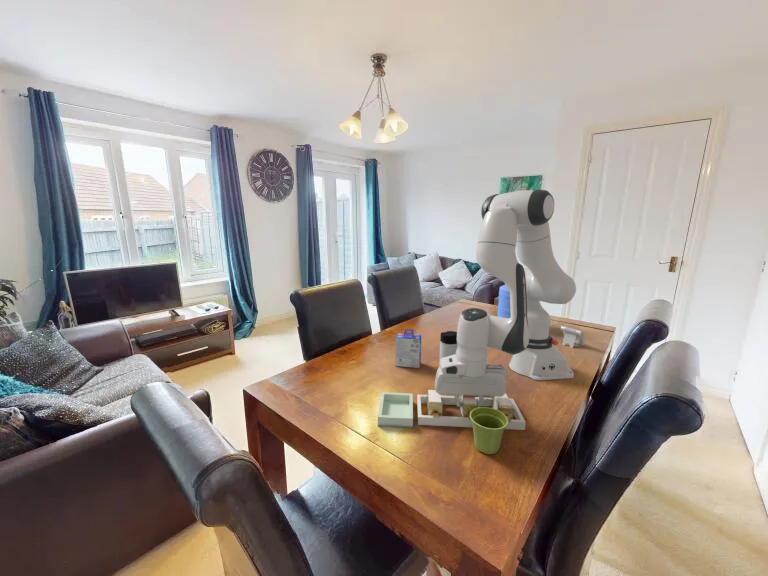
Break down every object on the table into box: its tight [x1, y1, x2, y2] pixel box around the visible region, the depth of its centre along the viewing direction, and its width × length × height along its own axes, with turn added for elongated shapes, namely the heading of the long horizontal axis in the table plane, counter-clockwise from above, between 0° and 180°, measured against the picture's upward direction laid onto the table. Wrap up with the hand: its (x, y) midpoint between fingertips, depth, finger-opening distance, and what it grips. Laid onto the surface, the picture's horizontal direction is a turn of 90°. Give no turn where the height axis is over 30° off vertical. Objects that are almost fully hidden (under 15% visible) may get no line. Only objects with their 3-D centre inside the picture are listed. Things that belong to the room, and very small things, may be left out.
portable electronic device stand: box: [560, 325, 586, 349], centre depth 149 cm, size 9×8×8 cm
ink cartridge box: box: [394, 328, 422, 369], centre depth 129 cm, size 10×6×14 cm, turn 78°
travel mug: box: [438, 330, 458, 368], centre depth 113 cm, size 6×7×20 cm
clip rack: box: [416, 394, 526, 431], centre depth 98 cm, size 30×12×3 cm, turn 86°
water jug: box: [496, 284, 511, 318], centre depth 171 cm, size 16×16×28 cm
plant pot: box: [470, 406, 508, 455], centre depth 84 cm, size 9×9×9 cm
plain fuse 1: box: [426, 388, 443, 416], centre depth 98 cm, size 4×8×6 cm, turn 175°
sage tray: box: [377, 391, 414, 429], centre depth 99 cm, size 10×13×3 cm
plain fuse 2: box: [490, 392, 514, 419], centre depth 97 cm, size 4×8×6 cm, turn 176°
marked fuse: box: [459, 395, 478, 417], centre depth 98 cm, size 4×8×6 cm, turn 176°
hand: (468, 406), depth 98 cm, fingers closed on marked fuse, 3 cm apart
